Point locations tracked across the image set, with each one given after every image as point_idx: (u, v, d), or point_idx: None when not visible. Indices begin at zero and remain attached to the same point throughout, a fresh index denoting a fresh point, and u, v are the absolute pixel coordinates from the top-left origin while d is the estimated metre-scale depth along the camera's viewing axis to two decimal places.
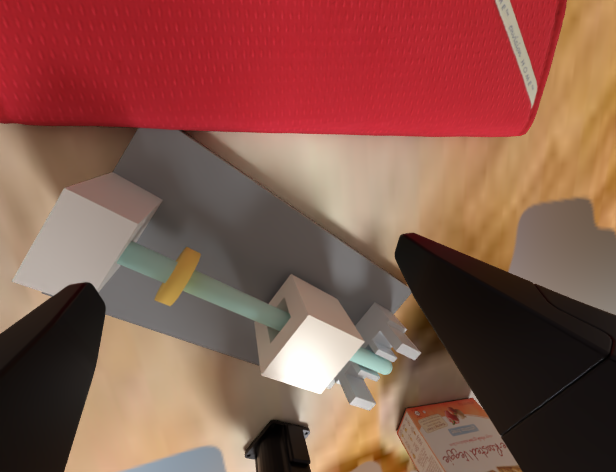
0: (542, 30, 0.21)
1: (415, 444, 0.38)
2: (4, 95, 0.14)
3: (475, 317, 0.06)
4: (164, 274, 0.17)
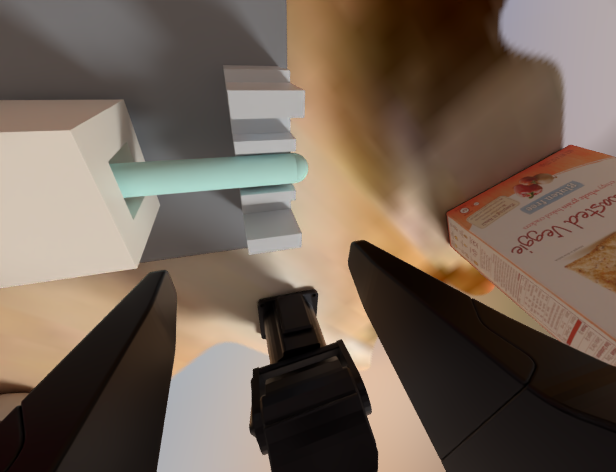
0: None
1: (471, 249, 0.25)
2: None
3: (413, 333, 0.06)
4: None
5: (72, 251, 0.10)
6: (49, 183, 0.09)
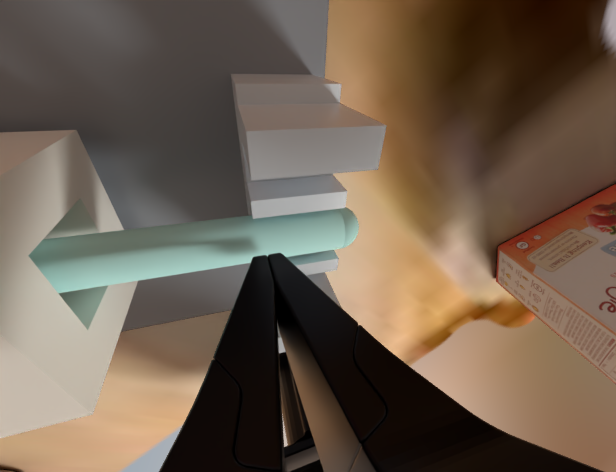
0: None
1: (532, 293, 0.21)
2: None
3: (302, 362, 0.05)
4: None
5: None
6: None
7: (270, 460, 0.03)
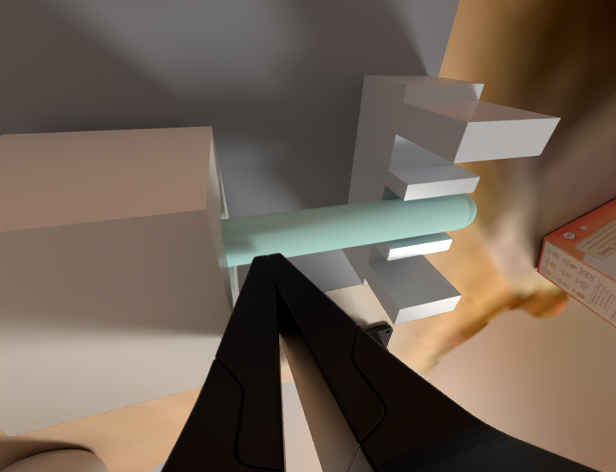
0: None
1: (579, 280, 0.22)
2: None
3: (300, 362, 0.05)
4: None
5: (166, 369, 0.07)
6: (153, 289, 0.05)
7: (272, 459, 0.03)
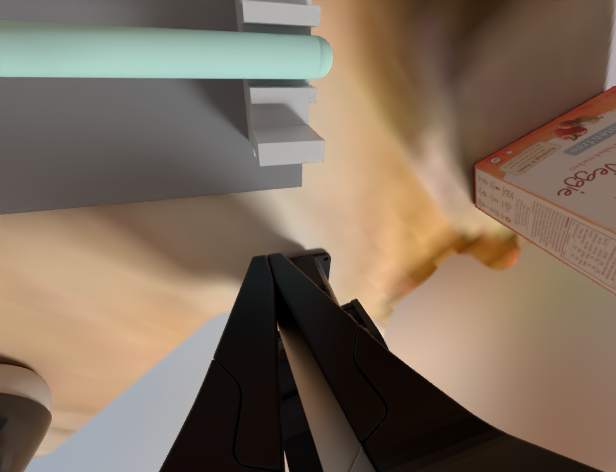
0: None
1: (504, 202, 0.23)
2: None
3: (301, 362, 0.05)
4: None
5: None
6: None
7: (270, 460, 0.03)
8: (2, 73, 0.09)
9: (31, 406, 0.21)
